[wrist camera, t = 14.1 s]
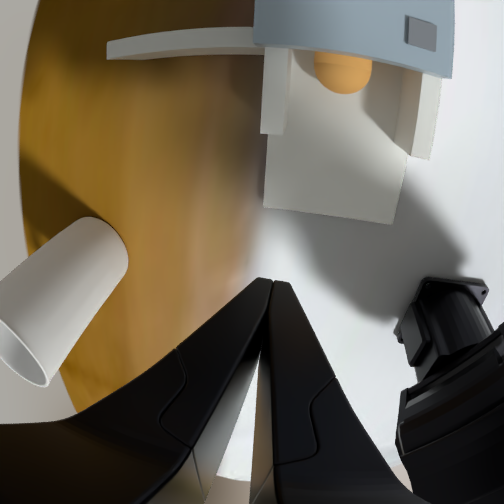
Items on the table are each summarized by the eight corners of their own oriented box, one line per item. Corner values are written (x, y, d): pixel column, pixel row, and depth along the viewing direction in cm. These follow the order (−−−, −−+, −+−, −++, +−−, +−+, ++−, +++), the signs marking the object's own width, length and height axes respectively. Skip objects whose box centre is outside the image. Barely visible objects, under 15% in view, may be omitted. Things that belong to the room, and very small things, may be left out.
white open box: (416, -48, 9) (438, -71, 5) (389, 219, 18) (405, 252, 15) (152, -57, 11) (121, -77, 7) (148, 191, 20) (117, 216, 17)
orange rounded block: (374, -44, 9) (377, -64, 7) (366, 98, 14) (370, 99, 12) (323, -50, 10) (317, -72, 8) (314, 89, 15) (308, 89, 12)
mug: (68, 201, 22) (-39, 287, 12) (136, 229, 22) (35, 344, 12) (71, 289, 27) (2, 375, 17) (127, 317, 27) (65, 418, 17)
